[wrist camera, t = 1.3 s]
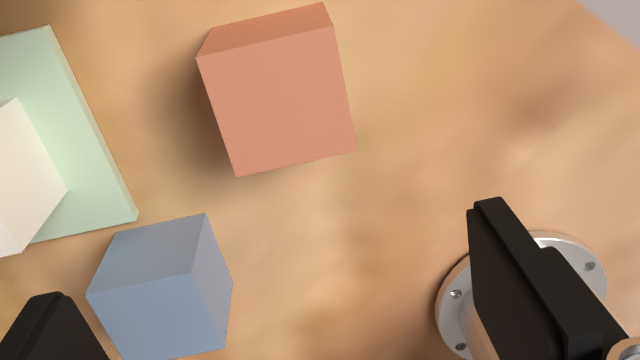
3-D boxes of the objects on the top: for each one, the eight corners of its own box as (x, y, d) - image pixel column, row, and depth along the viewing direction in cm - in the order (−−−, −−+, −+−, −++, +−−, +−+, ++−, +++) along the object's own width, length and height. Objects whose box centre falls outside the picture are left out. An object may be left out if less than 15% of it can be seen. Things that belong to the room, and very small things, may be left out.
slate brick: (232, 281, 34) (224, 348, 29) (150, 298, 35) (128, 368, 29) (205, 212, 31) (191, 272, 26) (116, 231, 32) (83, 295, 26)
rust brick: (342, 106, 29) (357, 150, 23) (243, 128, 29) (236, 177, 24) (322, 1, 26) (333, 25, 20) (212, 27, 26) (195, 57, 21)
